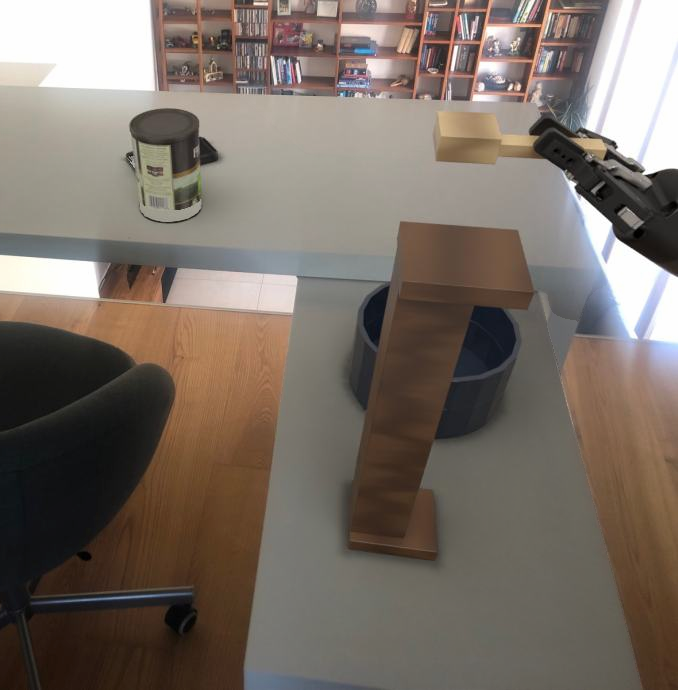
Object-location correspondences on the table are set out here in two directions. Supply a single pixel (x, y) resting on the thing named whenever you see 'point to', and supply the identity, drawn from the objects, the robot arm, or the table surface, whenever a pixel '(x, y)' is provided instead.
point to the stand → (423, 372)
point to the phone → (206, 152)
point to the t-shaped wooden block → (487, 140)
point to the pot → (471, 369)
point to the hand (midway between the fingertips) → (539, 131)
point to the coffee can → (167, 158)
